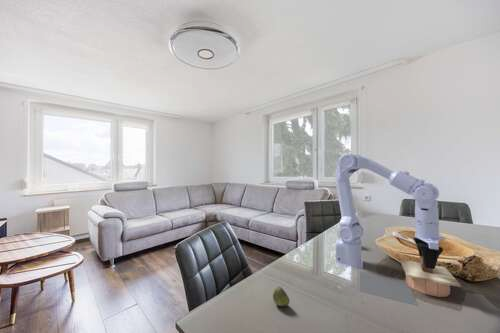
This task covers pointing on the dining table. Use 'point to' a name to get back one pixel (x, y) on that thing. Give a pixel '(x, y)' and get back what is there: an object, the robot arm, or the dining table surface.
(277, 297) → the lime
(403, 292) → the mat
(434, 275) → the lid
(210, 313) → the dining table surface
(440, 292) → the bowl
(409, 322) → the dining table surface
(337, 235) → the donut
